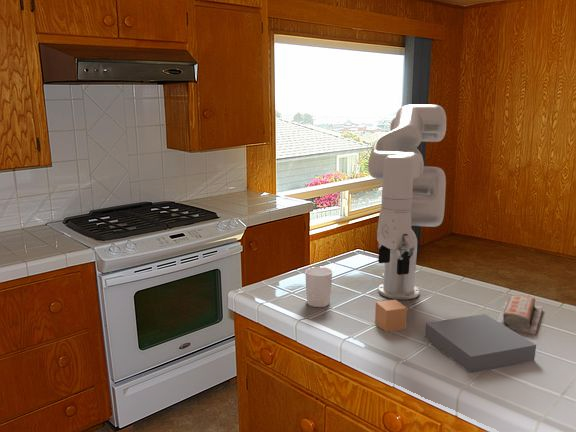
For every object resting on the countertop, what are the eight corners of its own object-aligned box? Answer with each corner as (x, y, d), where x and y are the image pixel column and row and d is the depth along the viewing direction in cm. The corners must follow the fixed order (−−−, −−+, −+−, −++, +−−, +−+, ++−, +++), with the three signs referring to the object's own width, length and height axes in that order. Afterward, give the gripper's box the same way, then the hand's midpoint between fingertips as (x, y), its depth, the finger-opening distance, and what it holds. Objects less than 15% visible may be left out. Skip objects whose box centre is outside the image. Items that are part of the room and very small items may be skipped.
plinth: (424, 337, 131) (425, 322, 130) (483, 327, 136) (484, 313, 135) (469, 372, 114) (471, 356, 113) (534, 360, 120) (536, 344, 119)
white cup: (317, 310, 147) (318, 277, 145) (299, 302, 153) (299, 270, 151) (337, 303, 152) (337, 271, 150) (318, 295, 158) (319, 265, 155)
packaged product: (537, 319, 131) (496, 311, 136) (535, 336, 133) (495, 328, 137) (544, 296, 146) (506, 289, 151) (542, 311, 148) (505, 304, 153)
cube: (374, 322, 140) (375, 302, 138) (394, 319, 141) (395, 299, 140) (385, 331, 134) (386, 310, 133) (405, 328, 136) (406, 307, 134)
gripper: (367, 198, 137) (365, 259, 140) (400, 211, 121) (397, 280, 124) (392, 197, 139) (389, 257, 143) (428, 209, 123) (423, 277, 127)
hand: (393, 268), depth 134 cm, fingers open, 9 cm apart
